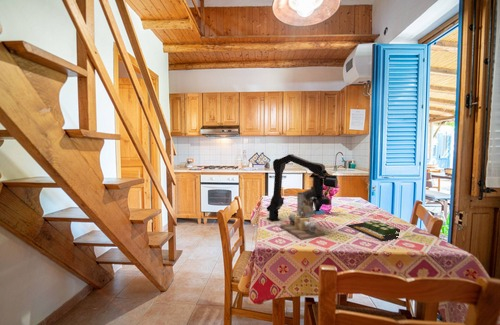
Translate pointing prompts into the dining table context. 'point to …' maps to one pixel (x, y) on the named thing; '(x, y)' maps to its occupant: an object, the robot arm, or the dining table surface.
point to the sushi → (377, 230)
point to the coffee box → (304, 204)
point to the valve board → (301, 233)
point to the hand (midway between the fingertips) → (316, 212)
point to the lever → (312, 212)
